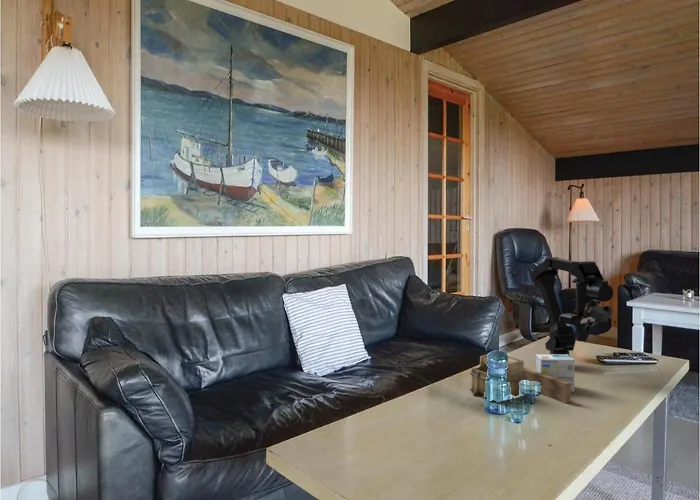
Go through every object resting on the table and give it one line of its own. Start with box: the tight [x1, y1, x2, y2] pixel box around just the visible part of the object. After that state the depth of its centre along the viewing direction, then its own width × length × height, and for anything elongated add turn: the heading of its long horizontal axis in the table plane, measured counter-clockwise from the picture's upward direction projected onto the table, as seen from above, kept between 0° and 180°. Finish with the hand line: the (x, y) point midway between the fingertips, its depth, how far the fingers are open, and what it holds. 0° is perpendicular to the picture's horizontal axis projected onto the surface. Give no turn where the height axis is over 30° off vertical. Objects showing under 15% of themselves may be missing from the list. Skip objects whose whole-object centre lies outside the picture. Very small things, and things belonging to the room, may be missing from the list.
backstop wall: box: [524, 367, 572, 404], centre depth 156 cm, size 22×2×6 cm, turn 26°
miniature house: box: [469, 354, 526, 397], centre depth 156 cm, size 15×14×11 cm
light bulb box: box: [535, 353, 575, 393], centre depth 159 cm, size 11×7×11 cm, turn 83°
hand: (584, 341), depth 170 cm, fingers closed
